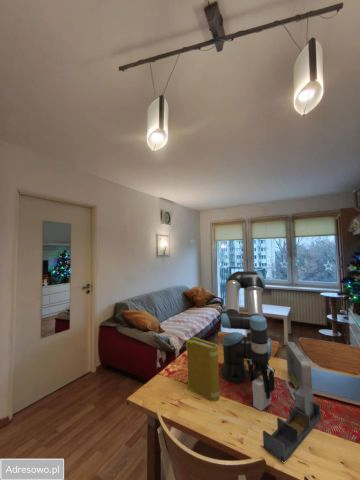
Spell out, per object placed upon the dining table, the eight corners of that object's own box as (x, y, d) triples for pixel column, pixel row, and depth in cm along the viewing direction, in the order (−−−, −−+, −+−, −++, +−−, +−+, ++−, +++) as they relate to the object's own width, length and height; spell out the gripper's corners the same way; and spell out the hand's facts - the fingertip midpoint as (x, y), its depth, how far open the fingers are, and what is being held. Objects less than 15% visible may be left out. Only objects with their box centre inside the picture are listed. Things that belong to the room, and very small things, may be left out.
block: (253, 406, 99) (252, 381, 99) (263, 398, 104) (262, 375, 104) (261, 411, 96) (260, 385, 96) (270, 403, 100) (269, 378, 101)
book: (187, 389, 113) (186, 340, 115) (195, 383, 118) (194, 336, 120) (214, 403, 102) (212, 349, 103) (222, 396, 106) (220, 344, 108)
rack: (263, 447, 78) (261, 414, 79) (301, 408, 97) (300, 382, 97) (284, 463, 72) (282, 427, 73) (320, 418, 91) (318, 390, 91)
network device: (319, 411, 95) (316, 364, 96) (297, 409, 97) (295, 363, 98) (299, 378, 120) (297, 341, 121) (282, 376, 122) (280, 340, 123)
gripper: (239, 346, 105) (241, 396, 104) (272, 360, 92) (275, 416, 91) (248, 342, 110) (251, 389, 109) (281, 354, 96) (284, 408, 95)
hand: (262, 401), depth 100 cm, fingers closed on block, 4 cm apart
